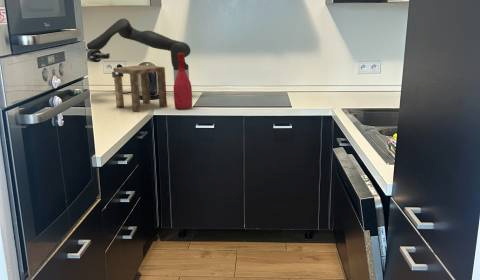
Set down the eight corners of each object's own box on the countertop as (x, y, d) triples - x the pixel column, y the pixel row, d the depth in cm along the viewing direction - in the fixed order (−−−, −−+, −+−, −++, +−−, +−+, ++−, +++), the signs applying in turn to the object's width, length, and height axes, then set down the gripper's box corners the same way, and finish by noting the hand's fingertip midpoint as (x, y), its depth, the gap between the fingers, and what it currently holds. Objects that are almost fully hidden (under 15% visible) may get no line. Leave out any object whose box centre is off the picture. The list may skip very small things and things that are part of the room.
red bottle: (196, 107, 264) (193, 52, 256) (185, 110, 256) (182, 53, 248) (181, 105, 269) (179, 51, 261) (170, 108, 261) (167, 53, 253)
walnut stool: (147, 102, 281) (144, 64, 276) (167, 106, 267) (164, 67, 261) (114, 107, 267) (111, 68, 262) (133, 112, 253) (130, 70, 247)
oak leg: (121, 106, 270) (118, 73, 265) (124, 107, 268) (121, 74, 263) (116, 107, 268) (113, 74, 263) (119, 108, 266) (116, 74, 261)
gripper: (81, 50, 280) (96, 51, 267) (102, 48, 288) (117, 49, 276) (83, 63, 282) (97, 64, 269) (103, 61, 290) (118, 62, 278)
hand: (107, 56), depth 273 cm, fingers closed
